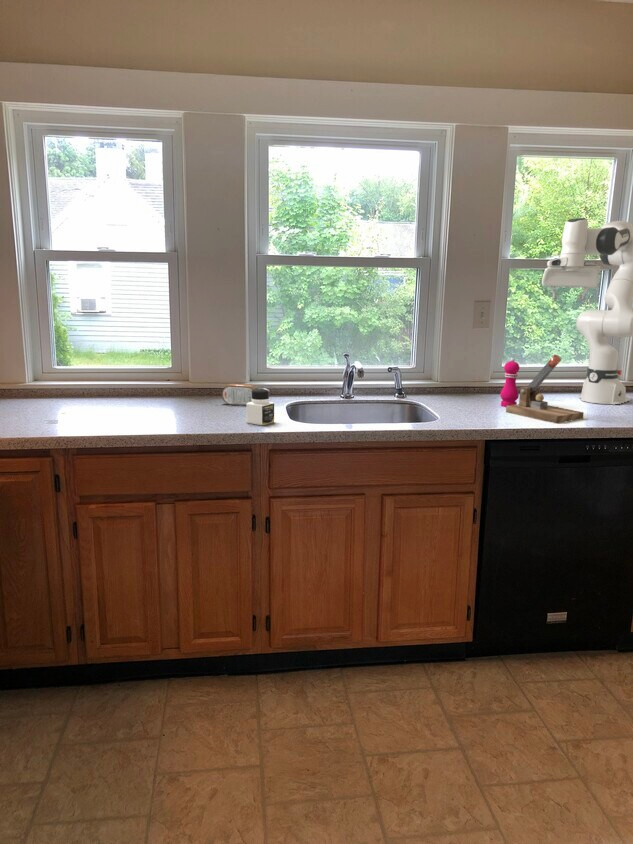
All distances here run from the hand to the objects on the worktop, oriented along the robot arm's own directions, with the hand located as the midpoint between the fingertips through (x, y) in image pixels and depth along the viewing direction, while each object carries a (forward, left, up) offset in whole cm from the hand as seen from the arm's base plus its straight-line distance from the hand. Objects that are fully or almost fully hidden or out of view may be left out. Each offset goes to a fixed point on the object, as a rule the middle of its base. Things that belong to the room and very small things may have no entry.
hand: (567, 299), depth 242 cm
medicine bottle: (+113, -38, -44) cm, 127 cm away
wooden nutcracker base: (+12, +3, -44) cm, 45 cm away
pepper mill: (+9, -16, -44) cm, 48 cm away
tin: (+105, -70, -44) cm, 134 cm away
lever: (+12, +1, -30) cm, 33 cm away
